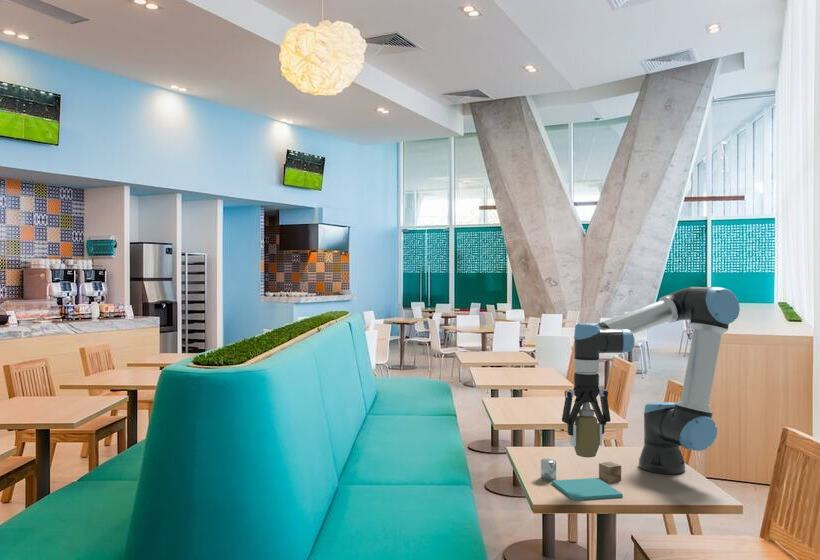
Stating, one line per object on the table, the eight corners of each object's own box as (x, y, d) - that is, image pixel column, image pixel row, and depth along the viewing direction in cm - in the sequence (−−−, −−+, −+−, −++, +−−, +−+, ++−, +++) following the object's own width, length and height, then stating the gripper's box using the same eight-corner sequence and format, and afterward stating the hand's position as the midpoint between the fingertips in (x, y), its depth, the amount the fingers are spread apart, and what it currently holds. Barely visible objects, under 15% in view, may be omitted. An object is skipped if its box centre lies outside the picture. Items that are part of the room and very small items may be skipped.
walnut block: (610, 476, 216) (610, 461, 216) (621, 480, 211) (621, 465, 211) (598, 478, 214) (599, 463, 214) (609, 482, 209) (609, 467, 209)
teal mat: (597, 480, 211) (597, 477, 211) (622, 497, 195) (622, 493, 195) (551, 483, 208) (551, 480, 208) (573, 500, 192) (573, 497, 192)
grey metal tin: (552, 476, 216) (552, 458, 216) (558, 480, 211) (558, 462, 211) (538, 477, 215) (538, 459, 215) (544, 481, 210) (544, 463, 210)
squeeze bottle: (568, 455, 201) (568, 398, 201) (579, 450, 207) (580, 395, 207) (592, 460, 195) (593, 401, 195) (603, 455, 202) (604, 398, 202)
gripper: (611, 370, 207) (610, 440, 207) (550, 371, 203) (549, 443, 203) (623, 373, 199) (622, 446, 199) (560, 375, 195) (559, 449, 195)
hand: (585, 444), depth 201 cm, fingers closed on squeeze bottle, 8 cm apart
